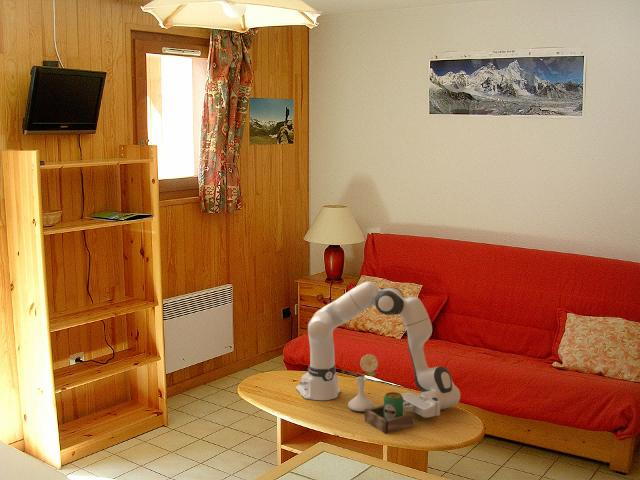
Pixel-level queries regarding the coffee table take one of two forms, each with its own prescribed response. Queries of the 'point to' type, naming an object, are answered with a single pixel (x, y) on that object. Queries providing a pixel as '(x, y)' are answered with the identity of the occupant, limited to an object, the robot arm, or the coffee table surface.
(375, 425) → the walnut bracket
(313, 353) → the robot arm
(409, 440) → the coffee table surface
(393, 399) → the beverage can
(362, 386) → the flower in vase
